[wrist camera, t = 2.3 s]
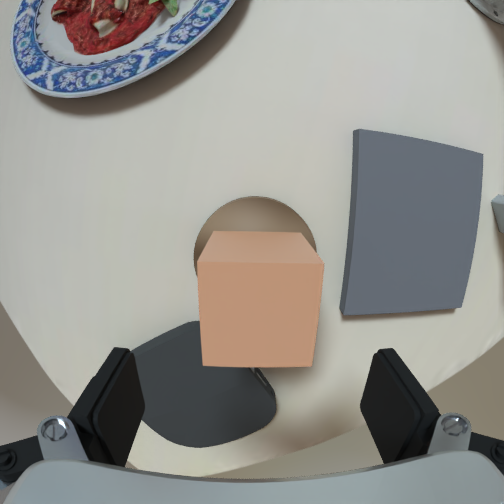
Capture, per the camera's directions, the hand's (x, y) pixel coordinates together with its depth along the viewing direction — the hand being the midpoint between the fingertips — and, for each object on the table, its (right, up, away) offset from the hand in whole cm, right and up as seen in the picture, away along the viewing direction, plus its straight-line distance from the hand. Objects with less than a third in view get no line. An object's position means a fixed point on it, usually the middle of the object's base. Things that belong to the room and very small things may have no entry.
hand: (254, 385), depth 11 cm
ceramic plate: (-13, +31, +8) cm, 35 cm away
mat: (+15, +7, +15) cm, 23 cm away
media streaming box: (-6, -9, +20) cm, 23 cm away
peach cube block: (0, +3, +11) cm, 12 cm away
